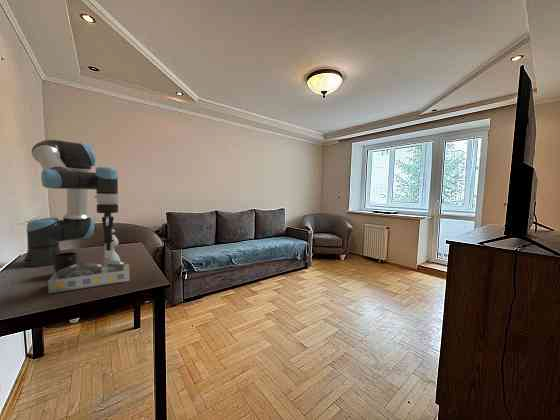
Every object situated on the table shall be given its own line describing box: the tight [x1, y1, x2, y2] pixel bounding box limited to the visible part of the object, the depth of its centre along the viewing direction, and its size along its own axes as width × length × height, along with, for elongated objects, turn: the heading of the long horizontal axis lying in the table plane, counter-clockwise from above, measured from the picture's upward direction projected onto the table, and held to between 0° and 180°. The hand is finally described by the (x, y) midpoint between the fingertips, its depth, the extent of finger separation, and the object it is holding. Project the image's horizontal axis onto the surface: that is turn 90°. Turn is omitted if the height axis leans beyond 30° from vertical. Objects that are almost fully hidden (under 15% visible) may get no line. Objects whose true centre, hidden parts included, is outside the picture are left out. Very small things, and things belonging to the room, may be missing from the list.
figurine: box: [102, 228, 122, 267], centre depth 119 cm, size 8×8×20 cm
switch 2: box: [82, 262, 103, 272], centre depth 100 cm, size 5×6×2 cm
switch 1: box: [57, 263, 80, 277], centre depth 96 cm, size 5×6×2 cm
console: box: [47, 263, 131, 294], centre depth 100 cm, size 10×26×6 cm, turn 124°
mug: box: [52, 251, 78, 273], centre depth 107 cm, size 8×12×10 cm
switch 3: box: [107, 261, 125, 269], centre depth 105 cm, size 5×6×2 cm
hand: (108, 257), depth 103 cm, fingers closed
